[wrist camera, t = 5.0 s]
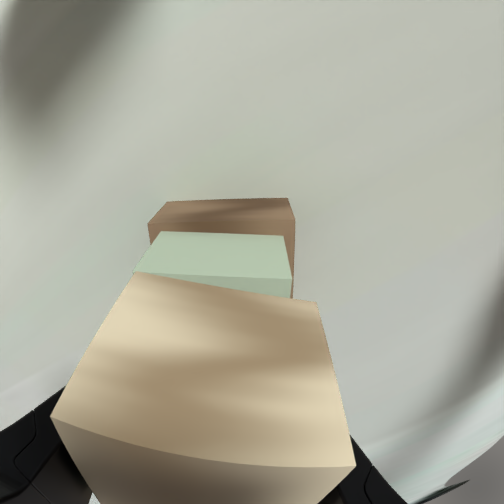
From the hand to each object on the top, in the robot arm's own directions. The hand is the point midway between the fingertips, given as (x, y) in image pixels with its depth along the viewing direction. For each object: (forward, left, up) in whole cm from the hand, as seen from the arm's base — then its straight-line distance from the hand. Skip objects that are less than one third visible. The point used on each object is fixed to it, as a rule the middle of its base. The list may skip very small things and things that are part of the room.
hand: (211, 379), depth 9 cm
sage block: (0, 0, -6) cm, 6 cm away
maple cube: (0, 0, -1) cm, 1 cm away
